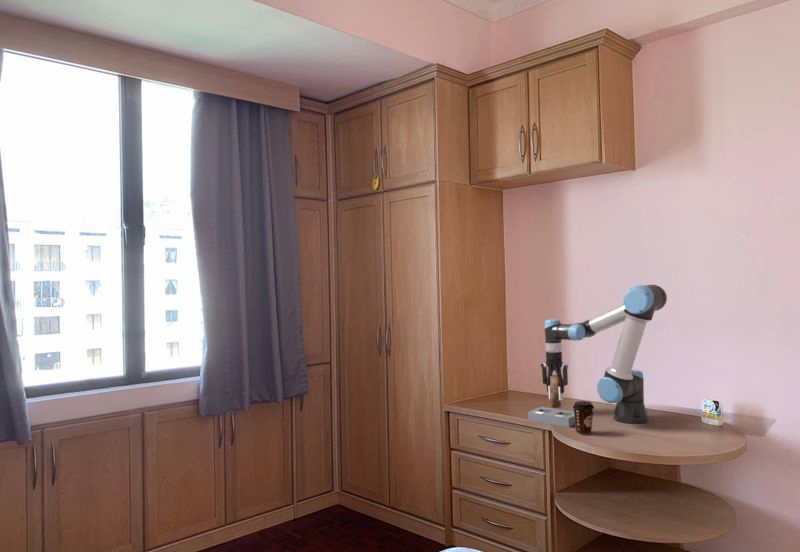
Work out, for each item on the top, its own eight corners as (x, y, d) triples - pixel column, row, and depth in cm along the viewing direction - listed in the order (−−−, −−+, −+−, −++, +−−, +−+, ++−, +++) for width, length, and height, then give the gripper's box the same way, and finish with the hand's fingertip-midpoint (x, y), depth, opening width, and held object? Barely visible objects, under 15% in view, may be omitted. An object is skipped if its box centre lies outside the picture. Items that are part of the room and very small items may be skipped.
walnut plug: (562, 406, 281) (561, 375, 281) (558, 408, 277) (557, 377, 277) (554, 405, 284) (552, 374, 284) (549, 407, 280) (548, 376, 280)
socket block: (541, 414, 279) (541, 406, 279) (581, 421, 266) (580, 412, 266) (528, 420, 269) (528, 411, 269) (568, 427, 256) (568, 418, 256)
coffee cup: (596, 431, 248) (596, 401, 248) (592, 436, 241) (591, 405, 241) (576, 429, 252) (575, 399, 252) (571, 434, 245) (570, 403, 245)
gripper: (574, 351, 278) (576, 399, 278) (540, 349, 289) (542, 396, 289) (567, 353, 272) (569, 402, 272) (533, 351, 284) (535, 398, 284)
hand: (555, 399), depth 281 cm, fingers closed on walnut plug, 5 cm apart
